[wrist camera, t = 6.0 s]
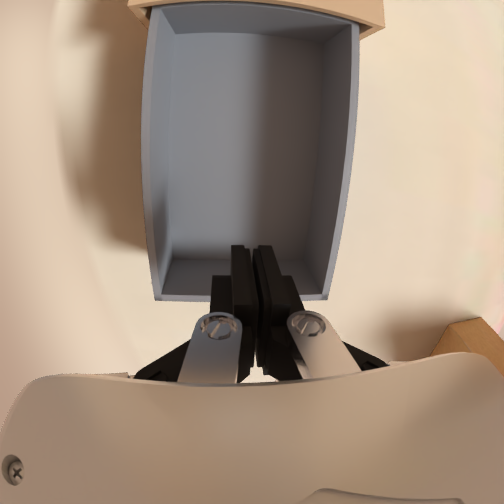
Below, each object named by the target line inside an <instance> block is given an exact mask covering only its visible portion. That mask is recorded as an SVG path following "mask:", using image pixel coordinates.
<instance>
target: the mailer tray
mask: <svg viewBox="0 0 504 504" xmlns="http://www.w3.org/2000/svg"><path fill="white" fill-rule="evenodd" d="M358 89H359V22H357V21H354V20H350V19H347V18H343V17H340V16H336V15H332V14H328V13H324V12H319V11H315V10H310V9H305V8H299V7H293V6H287V5H280V4H271V3H262V2H249V1H190V2H177V3H168V4H160V5H153V6H152V12H151V18H150V24H149V30H148V38H147V46H146V54H145V64H144V76H143V90H142V112H141V168H142V191H143V206H144V219H145V230H146V240H147V249H148V257H149V265H150V272H151V279H152V286H153V292H154V298H155V301H184V302H210V300H211V286H212V275H230V271H231V245H244V246H245V248H249V249H250V255H251V261H252V256H253V249H258V245H272V248H273V251H274V254H275V257H276V260H277V262H278V265H279V268H280V271H281V274H282V275H291V276H292V278H293V280H294V283H295V285H296V288H297V291H298V293H299V296H300V298H301V301H314V300H327V299H328V295H329V291H330V287H331V282H332V278H333V273H334V269H335V264H336V259H337V254H338V249H339V244H340V239H341V234H342V228H343V222H344V217H345V211H346V204H347V198H348V191H349V184H350V177H351V169H352V161H353V152H354V143H355V132H356V121H357V107H358Z"/></svg>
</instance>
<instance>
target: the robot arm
mask: <svg viewBox="0 0 504 504" xmlns="http://www.w3.org/2000/svg"><path fill="white" fill-rule="evenodd" d="M255 354H256V361H257V367H262V368H263V375H270V376H272V377H274V378H275V379H276V380H275V382H260V383H240V382H242V381H243V380H244V379H245V378H246V377H247V376H249V375H250V367H253V366H254V355H255ZM0 504H504V377H503V376H502V374H501V373H500V372H499V370H498V369H497V368H496V367H495V366H494V365H493V363H492V362H491V361H490V360H489V359H487V358H486V357H484V356H482V355H479V354H475V353H467V352H454V353H447V354H440V355H436V356H432V357H427V358H422V359H418V360H414V361H389V362H388V364H386V363H385V362H384V361H382V360H381V359H379V358H377V357H375V356H372V355H370V354H368V353H366V352H364V351H362V350H360V349H358V348H356V347H354V346H351V345H349V344H347V343H345V342H343V341H342V340H341V339H340V337H339V336H338V334H337V333H336V331H335V330H334V329H333V327H332V326H331V324H330V323H329V321H328V320H327V319H326V318H325V317H324V316H322V315H321V314H319V313H316V312H313V311H305V309H304V306H303V304H302V301H301V298H300V296H299V293H298V291H297V288H296V285H295V283H294V280H293V278H292V276H291V275H282V274H281V271H280V268H279V265H278V262H277V260H276V257H275V254H274V251H273V248H272V245H258V249H253V256H252V261H251V255H250V249H249V248H245V246H244V245H231V271H230V275H212V286H211V300H210V313H209V314H206V315H204V316H202V317H201V318H200V319H199V320H198V321H197V323H196V325H195V328H194V331H193V334H192V337H191V339H190V340H188V341H187V342H185V343H184V344H182V345H180V346H179V347H177V348H176V349H174V350H172V351H171V352H169V353H167V354H166V355H164V356H162V357H161V358H159V359H157V360H156V361H154V362H152V363H151V364H149V365H147V366H146V367H144V368H142V369H141V370H140V371H138V372H137V373H136V375H131V376H129V375H128V373H127V372H126V373H111V374H77V373H76V374H58V375H51V376H45V377H41V378H38V379H35V380H33V381H31V382H30V383H28V384H27V385H26V386H25V387H24V388H23V389H22V390H21V392H20V393H19V394H18V396H17V398H16V399H15V401H14V403H13V405H12V406H11V408H10V410H9V412H8V415H7V417H6V419H5V421H4V424H3V426H2V429H1V432H0Z"/></svg>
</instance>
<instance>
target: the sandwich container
mask: <svg viewBox="0 0 504 504" xmlns="http://www.w3.org/2000/svg"><path fill="white" fill-rule="evenodd" d="M454 352H467V353H475V354H479V355H482V356H484V357H486V358H487V359H489V360H490V361H491V362H492V363H493V365H494V366H495V367H496V368H497V369H498V370H499V372H500V373H501V374H502V376H503V377H504V341H503V340H502V339H501V338H500V337H499V335H498V334H497V333H496V332H495V331H494V330H493V329H492V328H491V327H490V326H489V325H488V324H487V323H486V322H485V321H484V320H483V319H482V318H481V317H479V318H475V319H471V320H466V321H462V322H457V323H453V324H449V325H448V327H447V329H446V330H445V332H444V334H443V336H442V337H441V339H440V341H439V342H438V344H437V346H436V347H435V349H434V350H433V352H432V354H431V355H430V357H432V356H436V355H440V354H447V353H454Z"/></svg>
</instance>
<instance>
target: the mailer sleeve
mask: <svg viewBox="0 0 504 504" xmlns="http://www.w3.org/2000/svg"><path fill="white" fill-rule="evenodd" d="M190 1H249V2H262V3H271V4H280V5H287V6H293V7H299V8H305V9H310V10H315V11H319V12H324V13H328V14H332V15H336V16H340V17H343V18H347V19H350V20H354V21H357V22H359V41H360V40H361V39H363V38H365V37H367V36H369V35H371V34H373V33H375V32H377V31H379V30H381V29H383V28H385V19H384V7H383V0H128V5H127V7H128V8H129V9H130V10H131V11H132V12H133V13H134V14H135V16H136V17H137V18H138V19H139V20H140V21H141V22H142V24H143V25H144V26H145V27H146V28H147V29H148V30H149V24H150V18H151V12H152V6H153V5H160V4H168V3H177V2H190Z"/></svg>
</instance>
